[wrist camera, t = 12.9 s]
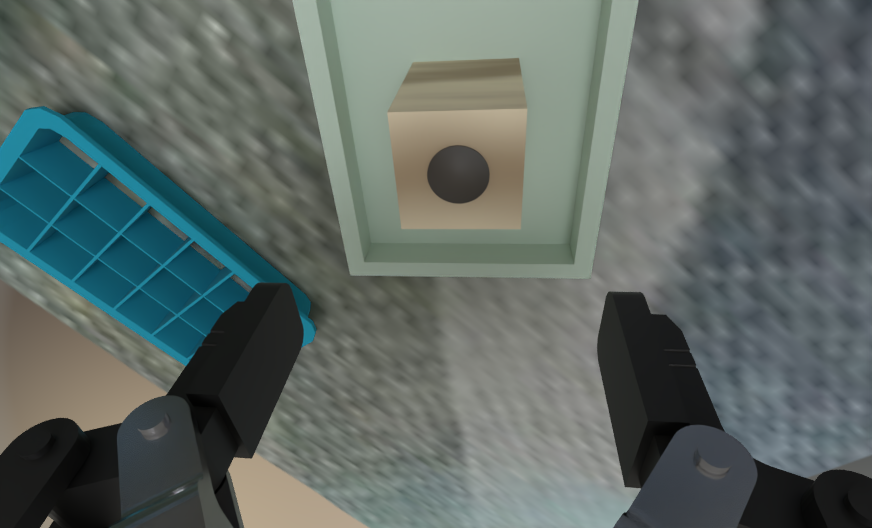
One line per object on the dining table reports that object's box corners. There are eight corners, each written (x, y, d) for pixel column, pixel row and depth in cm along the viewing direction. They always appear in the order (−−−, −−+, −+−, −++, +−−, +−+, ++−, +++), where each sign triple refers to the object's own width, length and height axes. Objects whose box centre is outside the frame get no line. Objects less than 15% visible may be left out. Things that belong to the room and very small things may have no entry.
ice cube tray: (241, 363, 40) (225, 392, 38) (-2, 189, 31) (-43, 213, 29) (335, 305, 35) (323, 334, 32) (75, 79, 26) (33, 96, 24)
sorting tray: (297, -102, 20) (270, -103, 18) (640, -129, 19) (661, -134, 16) (361, 246, 31) (350, 275, 29) (582, 248, 29) (590, 278, 27)
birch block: (413, 61, 23) (386, 114, 17) (518, 57, 22) (527, 110, 17) (421, 159, 26) (400, 231, 20) (514, 157, 25) (521, 231, 19)
